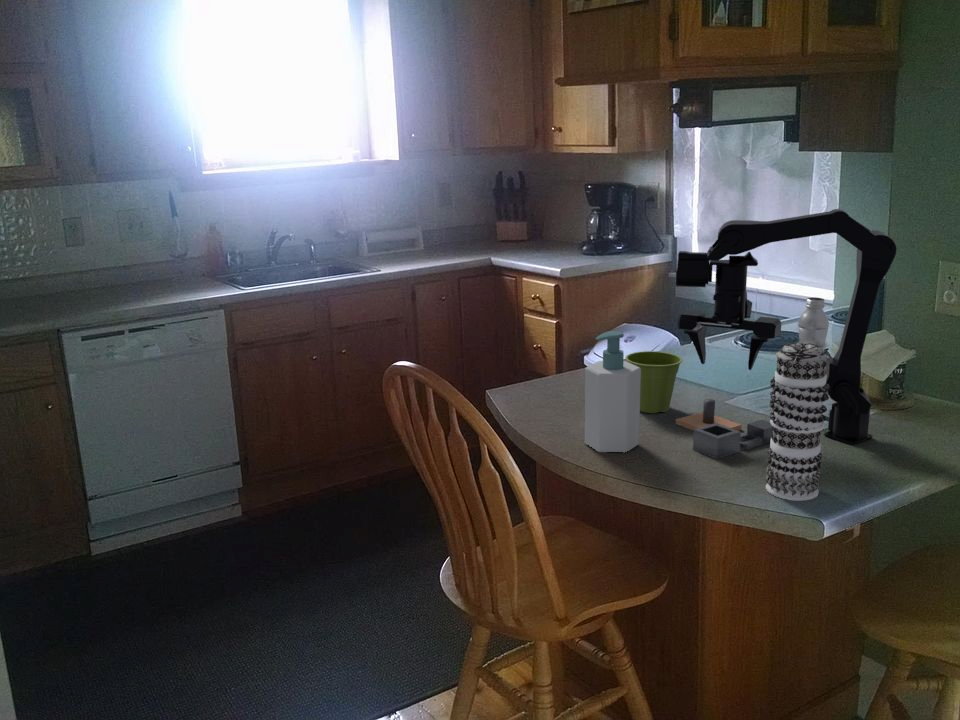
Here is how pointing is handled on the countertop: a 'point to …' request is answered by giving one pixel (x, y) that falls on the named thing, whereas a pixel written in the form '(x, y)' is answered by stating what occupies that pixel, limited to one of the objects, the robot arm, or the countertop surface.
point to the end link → (716, 440)
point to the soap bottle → (612, 399)
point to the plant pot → (655, 378)
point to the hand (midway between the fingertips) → (726, 366)
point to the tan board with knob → (706, 418)
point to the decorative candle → (797, 422)
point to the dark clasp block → (756, 434)
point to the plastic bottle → (813, 323)
